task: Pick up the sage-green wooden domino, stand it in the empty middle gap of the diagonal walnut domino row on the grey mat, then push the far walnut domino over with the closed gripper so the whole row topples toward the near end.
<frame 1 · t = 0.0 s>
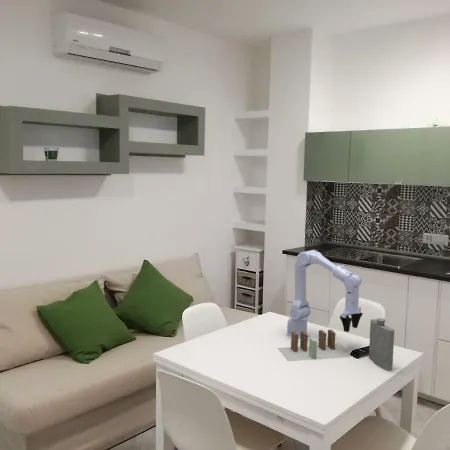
hand: (350, 329, 235), 10 cm above the table, tool pointing down, fingers open, 7 cm apart
domino 4: (303, 349, 236), resting on grey mat
domino 1: (331, 347, 238), resting on grey mat
hip flask: (379, 364, 221), on the table
domino 5: (294, 350, 235), resting on grey mat
grey mat: (315, 352, 233), on the table
sage domino: (312, 356, 227), resting on grey mat
domino 2: (321, 348, 238), resting on grey mat
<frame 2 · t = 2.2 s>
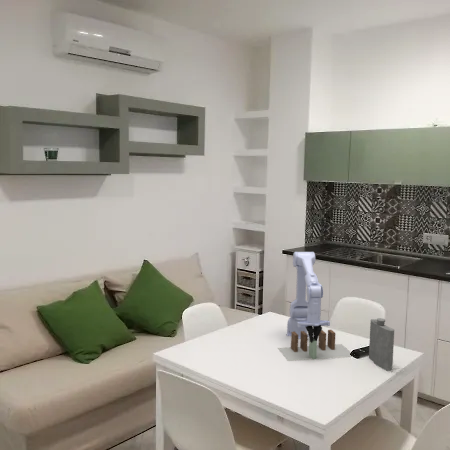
hand: (313, 342, 226), 7 cm above the table, tool pointing down, fingers closed on sage domino, 1 cm apart
sage domino: (312, 356, 227), resting on grey mat, touching gripper
everything else where it was.
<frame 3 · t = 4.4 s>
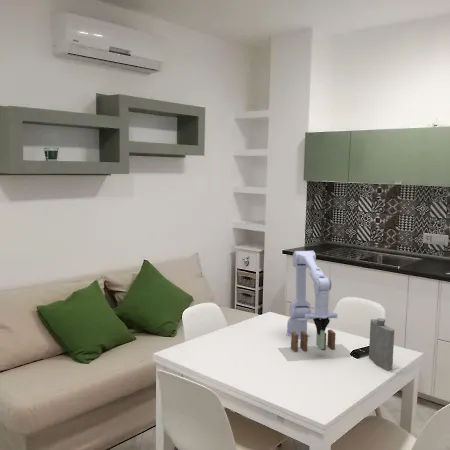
hand: (320, 334, 227), 10 cm above the table, tool pointing down, fingers closed on sage domino
sage domino: (320, 346, 228), point 5 cm above the table, touching gripper
everything else where it was.
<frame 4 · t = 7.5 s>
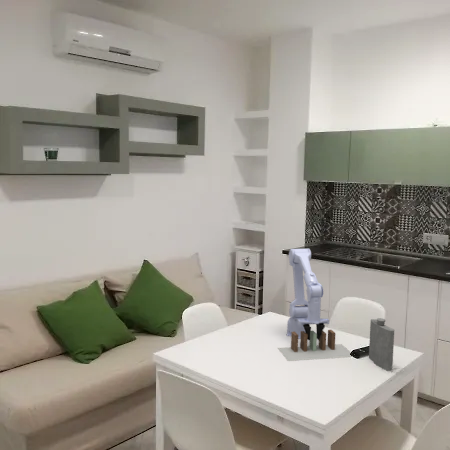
hand: (313, 339, 236), 5 cm above the table, tool pointing down, fingers open, 4 cm apart
sage domino: (312, 348, 237), resting on grey mat
everything else where it was.
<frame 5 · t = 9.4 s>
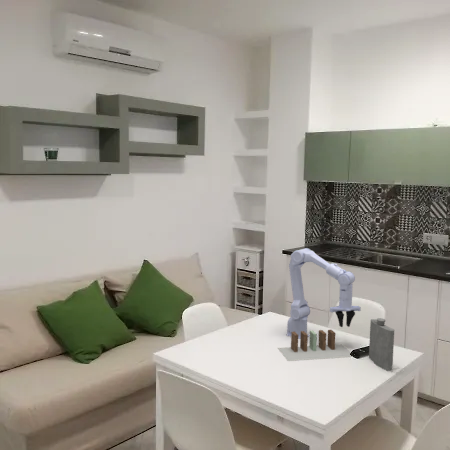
hand: (344, 326, 238), 10 cm above the table, tool pointing down, fingers open, 3 cm apart
nothing on the table moved.
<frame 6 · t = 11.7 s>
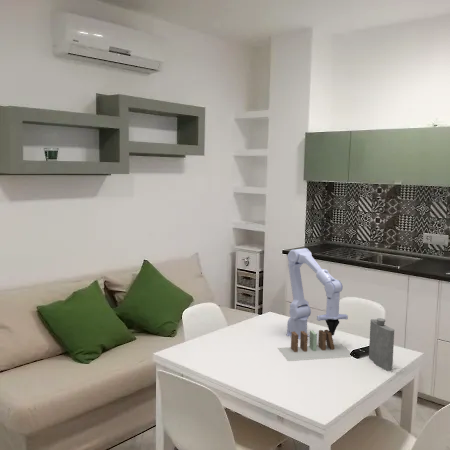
hand: (331, 334, 238), 7 cm above the table, tool pointing down, fingers closed
domino 1: (331, 347, 238), resting on grey mat, tilted 14°
everything else where it was.
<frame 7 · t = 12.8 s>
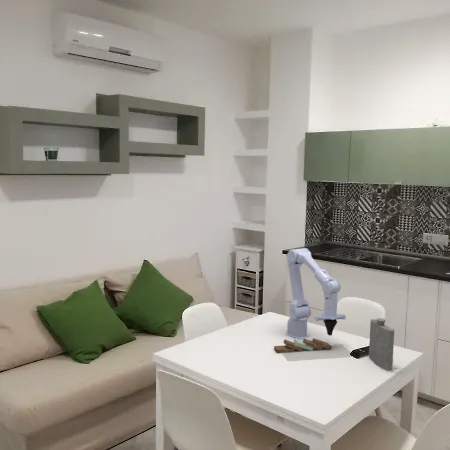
hand: (329, 334, 238), 7 cm above the table, tool pointing down, fingers closed
domino 4: (300, 348, 236), point 1 cm above the table, tilted 67°, touching domino 5, grey mat, sage domino
domino 1: (329, 346, 238), point 1 cm above the table, tilted 69°, touching domino 2, grey mat
domino 5: (292, 348, 235), point 1 cm above the table, tilted 90°, touching domino 4, grey mat
sage domino: (311, 347, 237), point 1 cm above the table, tilted 70°, touching domino 2, domino 4, grey mat
domino 2: (320, 347, 237), point 1 cm above the table, tilted 69°, touching domino 1, grey mat, sage domino
everything else where it was.
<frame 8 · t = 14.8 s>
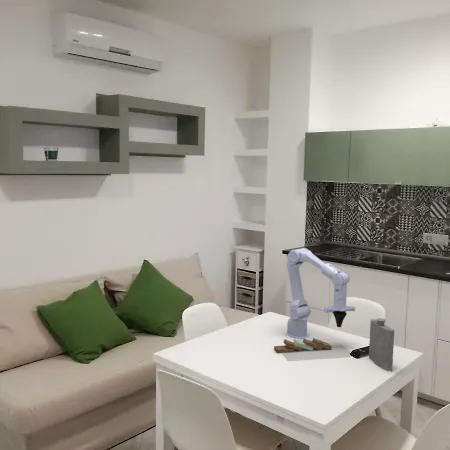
hand: (338, 326, 238), 10 cm above the table, tool pointing down, fingers closed
nothing on the table moved.
at the end: domino 5 tilted 90°; sage domino tilted 70°; sage domino 0.8 cm from the target spot, point 1.0 cm above the table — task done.
